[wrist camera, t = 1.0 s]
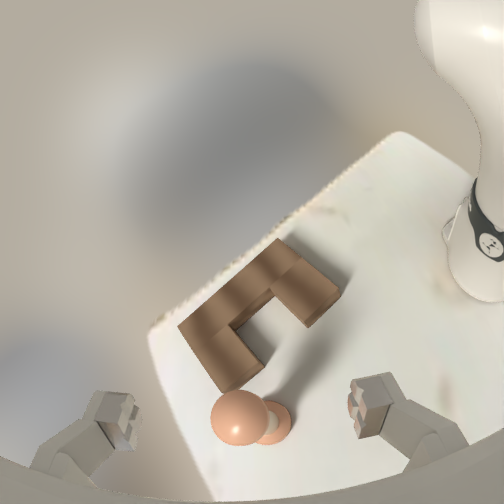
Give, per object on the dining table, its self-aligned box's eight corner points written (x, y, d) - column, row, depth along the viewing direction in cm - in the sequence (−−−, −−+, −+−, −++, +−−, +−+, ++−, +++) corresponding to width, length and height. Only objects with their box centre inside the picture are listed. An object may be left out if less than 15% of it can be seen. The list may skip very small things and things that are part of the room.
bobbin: (272, 392, 40) (242, 378, 32) (301, 425, 36) (278, 421, 28) (238, 419, 40) (200, 412, 31) (264, 453, 36) (231, 456, 27)
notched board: (282, 247, 54) (277, 237, 51) (340, 296, 45) (338, 287, 42) (186, 332, 51) (177, 326, 49) (230, 395, 42) (221, 392, 40)
